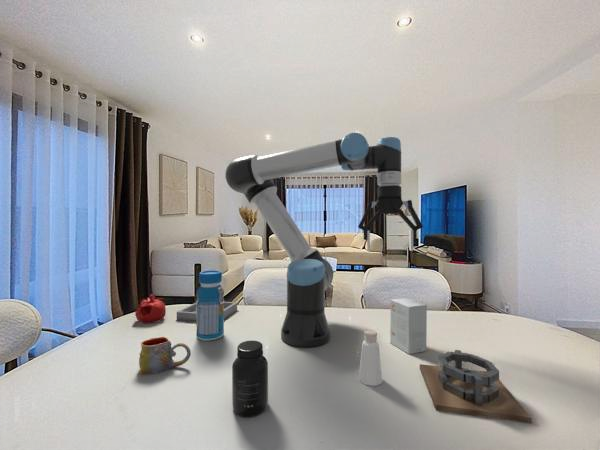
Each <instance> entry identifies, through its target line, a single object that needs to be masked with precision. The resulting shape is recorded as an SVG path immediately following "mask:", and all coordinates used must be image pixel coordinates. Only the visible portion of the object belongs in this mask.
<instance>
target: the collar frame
mask: <svg viewBox="0 0 600 450" xmlns="http://www.w3.org/2000/svg"><path fill="white" fill-rule="evenodd" d="M451 362H454V366H453V365H450V364H449V363H451ZM463 362H464V363H470V364H472V365H475V366H477V367H479V368H483V369H485V371H487V373H485V374H481V373H478V372H476V371H474V370H475V369H471V368H470V369H469V368H465V367H463ZM438 366H440V367H441V369H442V370H440V371H439V372H438V379H439V381H440V383H441V386H442V388H443V389H444V390H446V391H448V392H450V393H451V394H453V395H455V396H457V397H459V398H461V399H465V400H467V401H473V402H474V404H475V405H478V406H482V403H490V402H491V401H493V400H494V399H496V398H497V397H499V388H498V387H497V385H496V384H495V383H494V382H495V381H497V380H498V379H499V380H500V370H499V369H498V368H497V367H496V366H495V364H493V362H491V361H490V360H488V359H485V358H482V357H480V356H478V355H474V354H473V353H469V352H462V350H458V349H455V350H454V351H447V352H445V353H442V354H440V355H439V356H438ZM451 376H452V377H454V378H456V379H458V380H460V381H462V382H466V383H473V390H465V389H463V388H461V387H459V386H457V385H455V384H453V383H451V382H449V381H448V378H450V377H451ZM483 385H485V386H486V387H487V390H485V391H484V392H483Z"/></svg>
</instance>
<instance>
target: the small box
mask: <svg viewBox="0 0 600 450" xmlns="http://www.w3.org/2000/svg"><path fill="white" fill-rule="evenodd" d="M427 306H428V305H427V304H425V303H422V302H419V301H417V300H414V299H410V298H405V297H403V298H393V299H392V298H391V299H390V327H389V328H390V330H389V331H390V332H389V333H390V338H389V342H390V344H391V345H393V346H395V347H396V348H398V349H400V350H401V351H403V352H405V353H406V354H408V355H413V354H418V353H422V352H426V351H427V335H428V334H427V323H428V322H427V321H428V320H427V319H428V318H427V313H428V312H427Z"/></svg>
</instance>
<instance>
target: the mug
mask: <svg viewBox="0 0 600 450" xmlns="http://www.w3.org/2000/svg"><path fill="white" fill-rule="evenodd" d="M140 346H141V349H140V353H139V358H138V359H139V360H138V365H139V366H138V367H139V370H138V374H139V375H140V374H141V375H143V374H146V375H147V374H148V375H149V374H150V375H151V374H158V373H160V372H164V371H166V370H168V369H171V368H176V367H181V366H182V365H184V364H186V363H187V362H188V361H189V359H190V358H191V354H192V352H191V349H190V347H189V346H188V345H187V344H186V343H183V342H180V343H176V344H175V345H173V346H172V343H171V340H169V338H168V337H166V336H160V337H152V338H149V339H145V340H144V341H141V342H140ZM178 347H181V348H184V350H185V351H186V356H185V357H184V358H183V359H182V360H176V361H175V360H174V359H173V357H176V356H177V352H176V351H175V349H177V348H178Z"/></svg>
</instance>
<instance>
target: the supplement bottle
mask: <svg viewBox="0 0 600 450" xmlns="http://www.w3.org/2000/svg"><path fill="white" fill-rule="evenodd" d="M236 347H237V353H236V355H237V356H236V358H235V360H233V363H232V366H231V375H232V377H231V379H232V380H231V385H232V388H231V389H232V393H231V396H232V397H231V398H232V399H231V401H232V410H233V411H234V413H235V414H236V415H238V416H239V417H242V418H252V417H256V416H259V415H261V414H262V413H264V411H266V409H267V407H268V404H269V403H268V402H269V366H268V365H269V363H268V360H267V358H266V357H265V356H264V350H263V347H264V346H263V343H262V342H261V341H258V340H246V341H242V342H240V343H239V344H238V345H237V346H236Z"/></svg>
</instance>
